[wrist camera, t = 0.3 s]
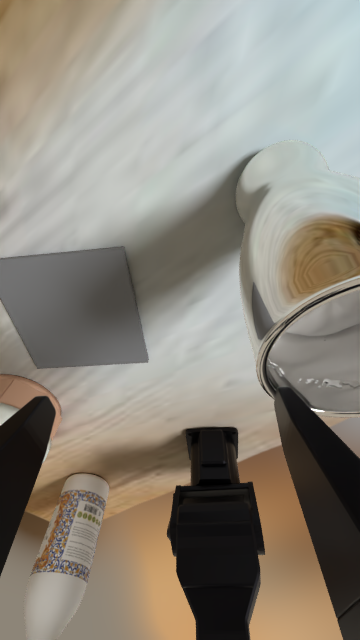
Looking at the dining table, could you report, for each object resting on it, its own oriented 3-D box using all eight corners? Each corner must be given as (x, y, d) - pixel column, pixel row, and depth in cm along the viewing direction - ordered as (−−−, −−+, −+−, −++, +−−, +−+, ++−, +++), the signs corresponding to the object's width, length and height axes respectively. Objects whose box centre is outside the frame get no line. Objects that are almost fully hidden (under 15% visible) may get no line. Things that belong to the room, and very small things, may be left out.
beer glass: (213, 220, 21) (214, 394, 10) (260, 111, 16) (360, 212, 5) (294, 249, 22) (376, 436, 11) (360, 156, 17) (619, 317, 6)
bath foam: (71, 467, 41) (-13, 693, 24) (115, 478, 42) (65, 700, 25) (62, 487, 44) (-17, 697, 28) (103, 497, 46) (52, 703, 29)
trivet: (148, 359, 28) (147, 362, 28) (39, 365, 29) (37, 368, 29) (123, 246, 22) (122, 248, 22) (-16, 259, 23) (-19, 261, 23)
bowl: (72, 428, 35) (59, 458, 32) (0, 430, 36) (-20, 460, 33) (43, 372, 30) (24, 401, 27) (-41, 376, 31) (-69, 405, 28)
